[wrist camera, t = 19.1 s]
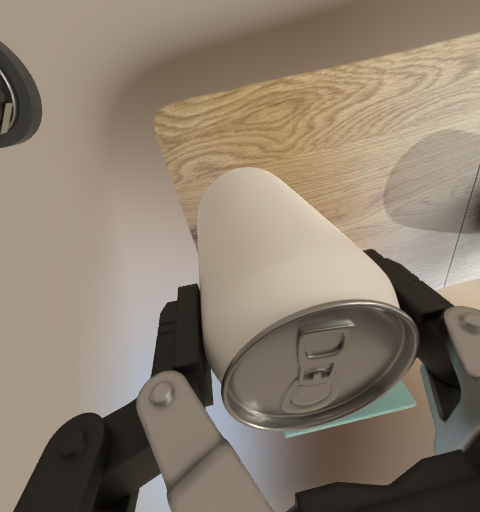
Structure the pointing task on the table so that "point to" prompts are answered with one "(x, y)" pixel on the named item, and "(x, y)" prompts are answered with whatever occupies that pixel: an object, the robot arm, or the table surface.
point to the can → (293, 308)
